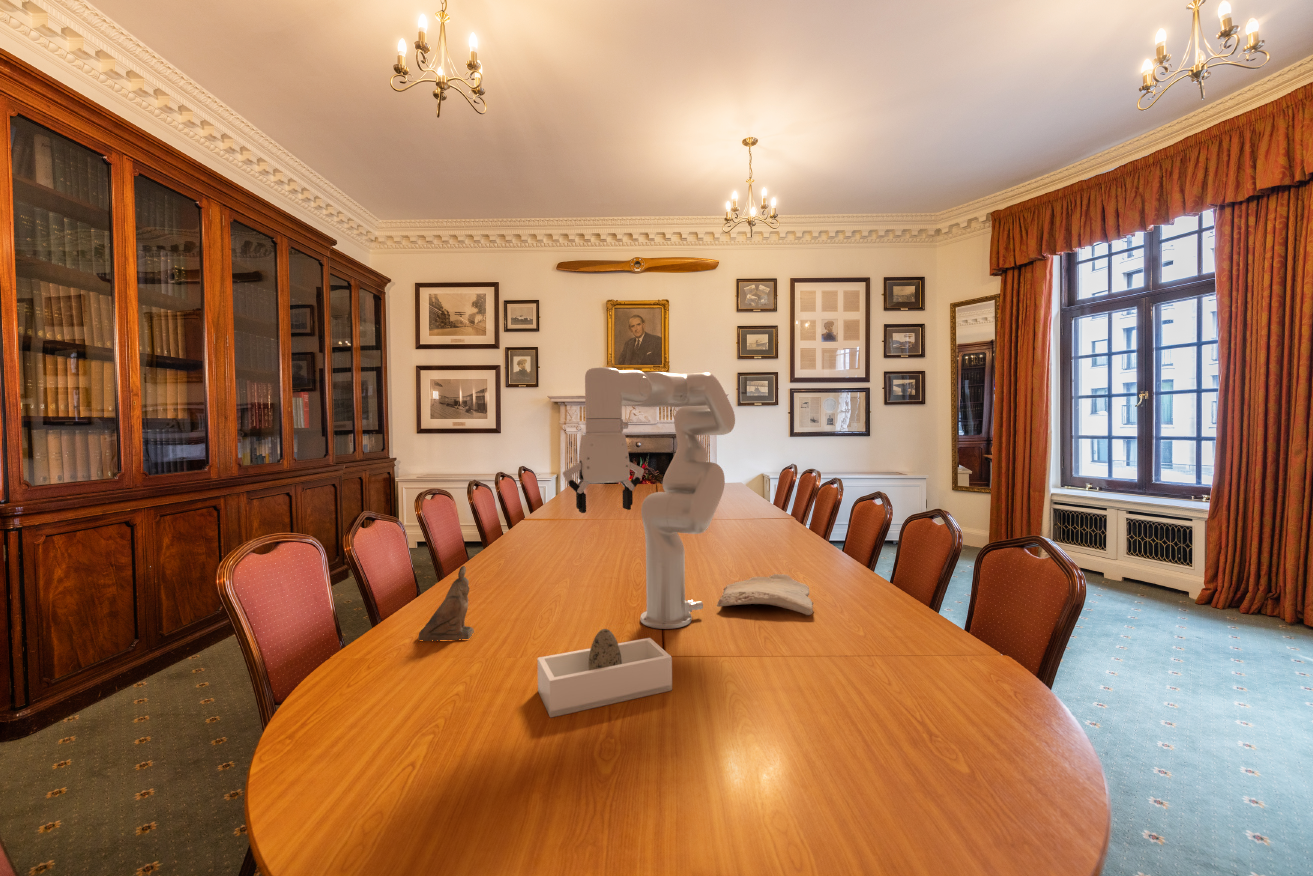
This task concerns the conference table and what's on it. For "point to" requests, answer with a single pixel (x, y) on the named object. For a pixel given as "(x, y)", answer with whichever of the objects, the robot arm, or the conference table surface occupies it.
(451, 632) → the brown carved statuette
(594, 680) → the open rectangular box
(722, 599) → the beige curved fragment
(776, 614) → the conference table surface
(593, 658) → the decorative egg
